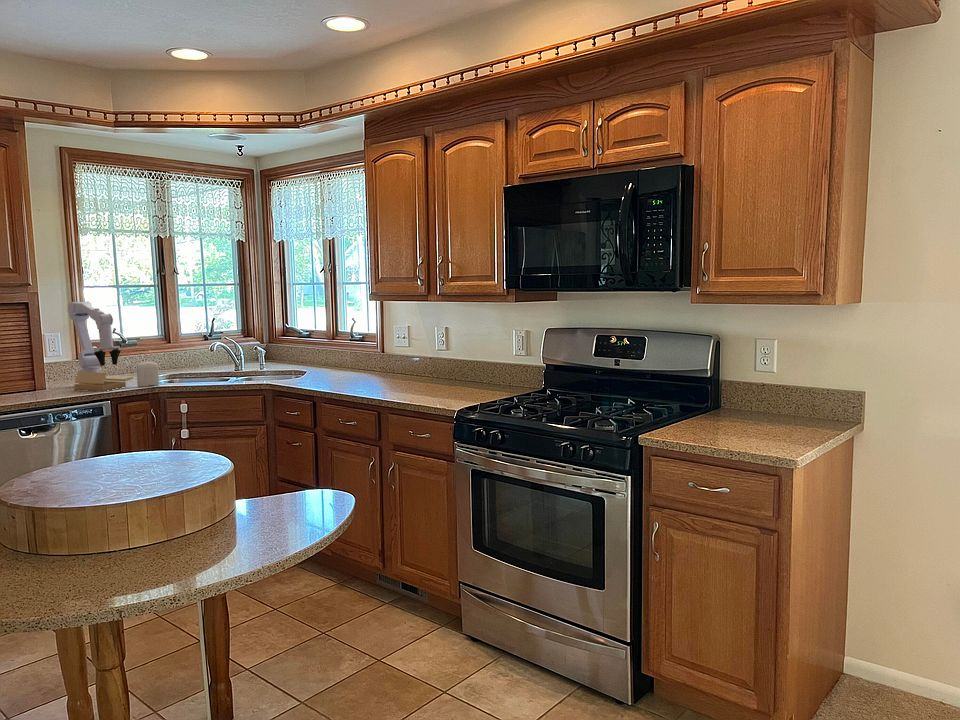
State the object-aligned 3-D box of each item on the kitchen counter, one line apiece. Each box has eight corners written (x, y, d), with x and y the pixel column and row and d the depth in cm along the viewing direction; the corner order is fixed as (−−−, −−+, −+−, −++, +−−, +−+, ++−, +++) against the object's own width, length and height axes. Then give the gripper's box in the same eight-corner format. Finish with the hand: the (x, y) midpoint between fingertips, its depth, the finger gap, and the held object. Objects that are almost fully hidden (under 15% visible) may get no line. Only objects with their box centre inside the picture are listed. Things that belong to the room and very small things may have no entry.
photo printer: (158, 384, 381) (157, 361, 379) (160, 385, 377) (158, 361, 376) (136, 386, 375) (135, 362, 374) (138, 387, 372) (137, 363, 370)
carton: (74, 390, 362) (74, 384, 362) (97, 386, 375) (97, 380, 375) (103, 391, 356) (103, 385, 356) (125, 387, 370) (125, 381, 369)
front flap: (75, 382, 362) (74, 382, 361) (79, 372, 364) (78, 371, 363) (103, 384, 357) (101, 383, 356) (107, 373, 359) (105, 372, 358)
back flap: (106, 375, 380) (106, 377, 380) (98, 378, 375) (98, 380, 375) (133, 376, 374) (133, 378, 375) (124, 379, 369) (125, 381, 370)
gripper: (100, 338, 359) (103, 365, 360) (123, 336, 373) (126, 363, 373) (89, 339, 361) (92, 366, 362) (112, 337, 375) (115, 364, 376)
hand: (108, 365), depth 368 cm, fingers open, 7 cm apart
